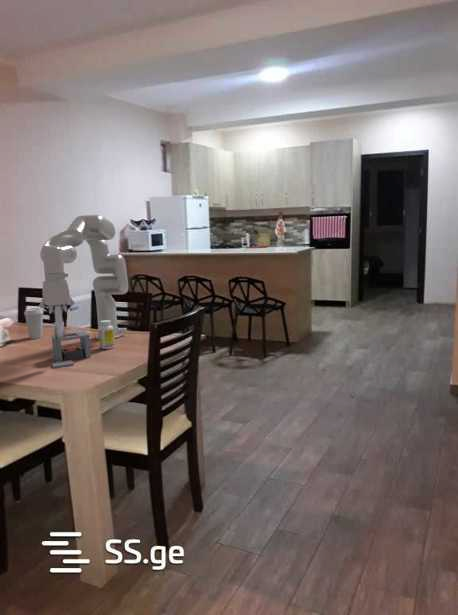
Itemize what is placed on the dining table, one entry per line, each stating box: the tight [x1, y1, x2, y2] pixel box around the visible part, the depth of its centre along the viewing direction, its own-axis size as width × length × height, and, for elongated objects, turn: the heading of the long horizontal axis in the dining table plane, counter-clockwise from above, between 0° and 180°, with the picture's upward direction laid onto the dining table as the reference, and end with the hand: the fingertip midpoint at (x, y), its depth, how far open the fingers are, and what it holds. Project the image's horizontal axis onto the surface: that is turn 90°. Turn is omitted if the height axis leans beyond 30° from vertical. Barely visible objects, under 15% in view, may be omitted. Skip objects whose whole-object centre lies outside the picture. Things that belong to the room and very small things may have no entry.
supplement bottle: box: [98, 320, 115, 350], centre depth 234 cm, size 7×7×13 cm
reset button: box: [65, 346, 78, 352], centre depth 219 cm, size 5×5×3 cm
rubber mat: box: [50, 360, 75, 369], centre depth 208 cm, size 8×6×1 cm
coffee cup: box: [23, 307, 44, 340], centre depth 262 cm, size 10×10×15 cm
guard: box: [51, 330, 92, 362], centre depth 219 cm, size 14×9×10 cm, turn 119°
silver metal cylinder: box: [52, 305, 66, 340], centre depth 205 cm, size 4×4×14 cm
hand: (58, 321), depth 205 cm, fingers closed on silver metal cylinder, 4 cm apart
